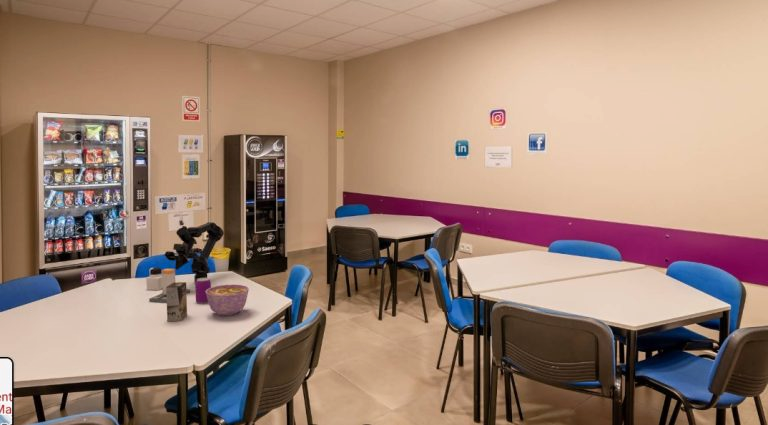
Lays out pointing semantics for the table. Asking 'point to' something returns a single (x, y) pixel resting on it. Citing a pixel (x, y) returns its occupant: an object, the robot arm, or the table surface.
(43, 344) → the table surface
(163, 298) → the board
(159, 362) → the table surface
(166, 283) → the fader knob
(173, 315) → the coffee box
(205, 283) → the beverage can
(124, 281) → the table surface
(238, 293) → the bowl of food
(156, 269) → the medicine bottle
